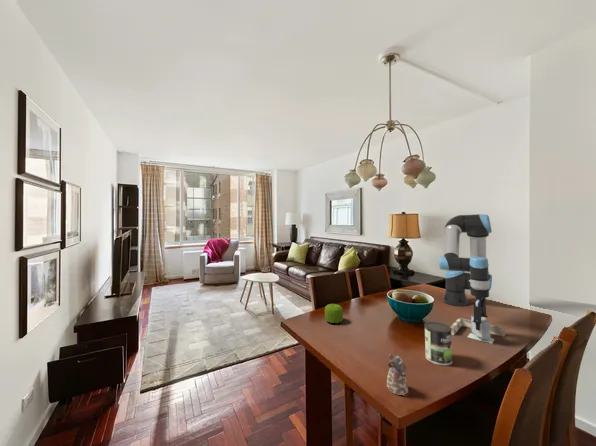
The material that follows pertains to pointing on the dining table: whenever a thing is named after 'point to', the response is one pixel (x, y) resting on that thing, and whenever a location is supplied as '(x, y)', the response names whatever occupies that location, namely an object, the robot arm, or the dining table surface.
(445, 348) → the coffee can
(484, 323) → the medicine box
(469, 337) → the pad
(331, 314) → the apple
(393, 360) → the figurine
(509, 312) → the dining table surface
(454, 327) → the corner walls
